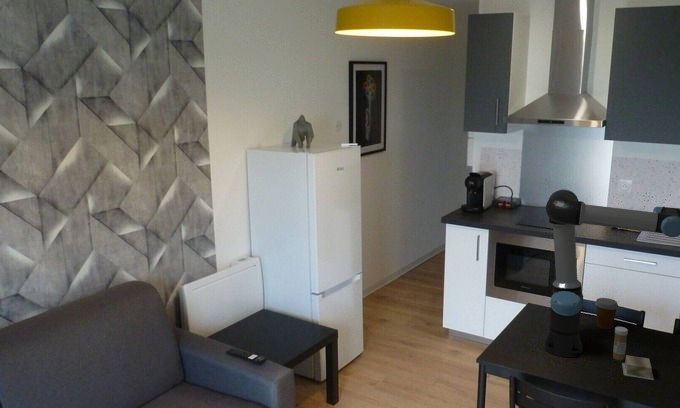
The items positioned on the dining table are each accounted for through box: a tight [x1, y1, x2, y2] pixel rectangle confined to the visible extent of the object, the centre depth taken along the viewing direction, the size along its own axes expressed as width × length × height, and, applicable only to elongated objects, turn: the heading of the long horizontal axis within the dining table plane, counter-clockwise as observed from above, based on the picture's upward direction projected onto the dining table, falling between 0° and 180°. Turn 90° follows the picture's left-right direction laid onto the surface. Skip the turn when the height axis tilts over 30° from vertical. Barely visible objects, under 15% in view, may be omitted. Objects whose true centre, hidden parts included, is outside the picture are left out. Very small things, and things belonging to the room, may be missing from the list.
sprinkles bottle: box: [612, 326, 629, 361], centre depth 226 cm, size 5×5×13 cm
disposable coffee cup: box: [594, 297, 619, 330], centre depth 257 cm, size 10×10×12 cm
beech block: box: [624, 354, 652, 378], centre depth 217 cm, size 8×8×4 cm
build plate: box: [621, 362, 655, 381], centre depth 218 cm, size 10×10×1 cm
